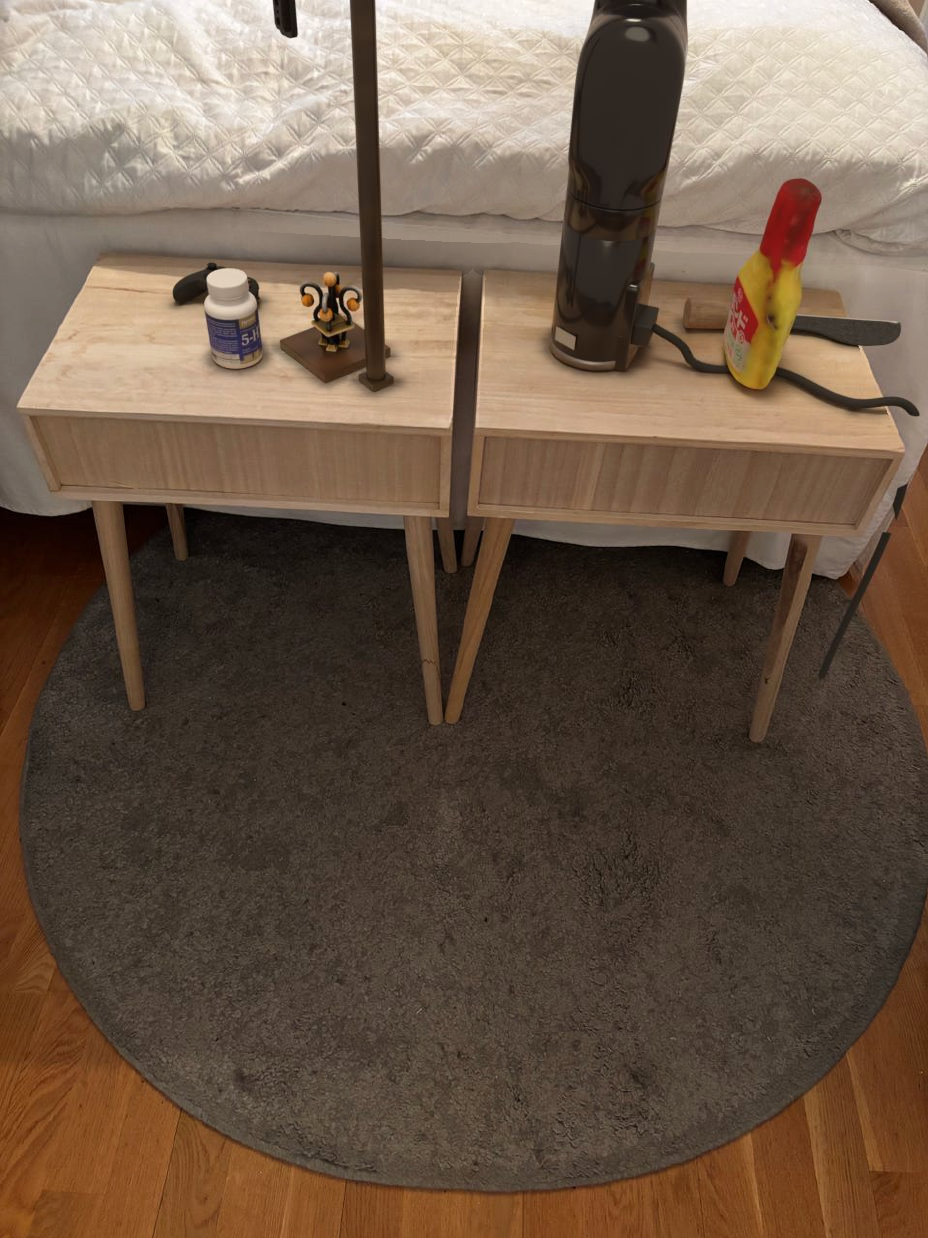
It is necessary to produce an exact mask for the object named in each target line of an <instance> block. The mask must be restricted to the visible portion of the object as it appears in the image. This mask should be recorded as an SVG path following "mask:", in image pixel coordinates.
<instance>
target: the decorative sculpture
mask: <svg viewBox="0 0 928 1238" xmlns="http://www.w3.org/2000/svg"><path fill="white" fill-rule="evenodd" d="M340 280H341V278H340V273H338V271H335V272H331V271H327V272H325V273H324V274H323V276H322V281H323V284H324V285H325V286H326V287H327V292H324V291H323V290H322V288H321V286H320V285H319V284H317V283H316V282H313V281H309V280H308V281H304V282H302V283H301V284H300V286H299V293H300V296H301V297H300V301H301V304H302V306H303V307H306V308H311V307H312V306H314V304H315V297H314V295H313V294H312V293H309V292H305V289H306V288H307V287H309V288H312V289H314V290H315V291H316V292H317V295H318V305H316V307H314V308H315V309H313V312H312V316H313V317H312V318H313V319H312V320H311V322H310V324H311V325H312V327H316V328H317V329H318V330H319V331H321V335H322V337H321V338H320V341H319V345H326V346H327V348H326V351H332V352H336V350H337V348H338V346H339V347H346V348H347V347H348V346H349V343H350V341H349V340H348V339H347V338H346V333H347V330H350V329H353V328H354V324H353V323H351V322H352V321H353V316H352V314H351V312H355V313H356V312H357V311H358V310H359V309H360V307H361V302H362V301H363V292H362V291H361V289H360V288H359V287H358V286H355V285H346V286H343V287H342V286H341V285H340V284H341V283H340V282H341V281H340ZM350 291H351V292H354V293H355V294H356V295H357V297H349V298H348V299H347V301H346V302H345V299H344V298H345V294H346V293H347V292H350ZM337 299H338V300H337ZM345 303H346V306H345ZM339 308H340V309H339ZM340 310H341V311H342V313H343V314H344V315H343V314H341V313H340ZM344 316H346V317H347V319H346V318H345V317H344ZM341 332H342V334H340V333H341ZM327 336H329V338H328V337H327Z"/></svg>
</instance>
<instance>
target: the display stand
mask: <svg viewBox="0 0 928 1238" xmlns="http://www.w3.org/2000/svg"><path fill="white" fill-rule="evenodd" d="M376 5H377V4H376V0H349V15H350V16H349V17H350V38H351V40H350V41H351V60H352V62H351V63H352V64H351V65H352V82H353V83H352V84H353V107H354V109H353V110H354V129H355V132H354V133H355V151H356V172H357V173H356V174H357V175H356V176H357V195H358V196H357V197H358V215H359V216H358V218H359V221H358V222H359V241H360V263H361V288H362V308H363V313H362V314H363V327H362V326H360V325H359V324H358V323H356V322H355V321H353V320H352V322H351V323H353V324H354V328H353V329H350V330H347V333H346V338H347V339H348V340H349V341H350V343H349V346H348V347H347V348H346V347H339V346H338V348H337V350H336V352H332V351H326V348H327V346H326V345H319V341H320V338H321V337H322V335H321V331H319V330H318V329H317V328H316V327H314V326H312V327H310V328H308V329H305V330H301V331H299V332H297V333H294V334H291V335H289V336H287V337H284V338H281V339H279V346H280V349H281V350H282V351H284V352H285V353H286V354H288V355H289V356H290V357H291V358H293V359H294V360H296V361H297V362H298V363H299V364H300V365H302V366H303V367H304V368H306V369H307V370H308V371H310V372H311V373H312V374H314V375H315V377H317V378H319V379H320V380H322V382H324V383H326V384H327V383H329V382H331V381H334V380H336V379H339V378H342V377H344V376H346V375H348V374H351V373H353V372H355V371H357V370H360V369H362V368H365V371H363V372H361V373H359V374H358V382H360V383H361V384H362V385H364V386H365V387H366V388H368V389H369V390H371V391H372V392H373V393H374V392H378V391H380V390H382V389H384V388H387V387H389V386H391V385H394V384H395V377H394V376H393V375H391V374H390V373H389V372H388V371H386V370H387V366H386V365H387V364H386V363H387V362H386V359H387V358H389V357H391V347H390V346H389V345H387V344H386V331H385V329H386V328H385V327H386V326H385V294H384V260H383V259H384V258H383V256H384V255H383V226H382V225H383V224H382V221H383V220H382V187H381V186H382V185H381V151H380V150H381V148H380V147H381V146H380V115H379V114H380V113H379V82H378V81H379V79H378V45H377V41H378V39H377V38H378V37H377V6H376ZM343 316H344V317H345V318H346V319H347V316H346V315H343ZM340 334H342V332H341V333H340ZM327 337H328V338H329V336H327Z"/></svg>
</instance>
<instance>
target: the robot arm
mask: <svg viewBox="0 0 928 1238" xmlns="http://www.w3.org/2000/svg"><path fill="white" fill-rule="evenodd" d="M272 10H273V20H274V25H275V27H276V30H279V32H280V34H281V35H282V36H283V37H285V38H287V39H290V40H291V39H294V38H298V37H299V31H298V17H297V4H296V0H272ZM688 50H689V31H688V0H594V2H593V9H592V14H591V18H590V23H589V27H588V29H587V33H586V35H585V38H584V41H583V43H582V47H581V49H580V52H579V56H578V60H577V66H576V73H575V79H574V80H575V81H574V87H573V88H574V89H573V99H572V111H571V120H570V132H569V144H568V152H567V153H568V154H567V165H568V171H567V172H568V173H567V183H566V192H565V200H564V209H563V210H564V211H563V220H562V229H561V240H560V249H559V255H558V256H559V257H558V265H557V276H556V284H555V285H556V286H555V293H554V302H553V303H554V304H553V315H552V323H551V328H550V329H551V330H550V333H549V343H548V344H549V350H550V351H551V353H552V354H553V355H554V356H555V357H556V358H557V359H558V360H559V361H561V362H563V363H564V364H566V365H569V366H571V367H574V368H576V369H580V370H585V371H586V370H587V371H598V372H599V371H610V370H615V371H620V372H621V371H622V372H625V371H627V369H628V367H629V366H630V365H631V362H632V360H634V358H635V356H636V354H637V352H638V351H639V349H640V347H643V348H648V347H649V345H650V342H651V340H652V337H653V334H655V335H656V336H658V337H660V338H662V339H663V340H665V341H667V342H668V343H670V344H672V346H674V347H675V348H677V350H678V351H679V352H680V353H681V355H682V357H683V359H684V361H685V363H686V364H688V366H689V367H691V368H693V369H695V370H697V371H699V372H703V373H707V374H717V375H719V374H721V375H730V374H731V375H732V373H731V371H730V370H729V367H728V364H726V365H725V364H724V365H722V364H721V365H719V364H711V363H706V362H704V361H701V360H699V359H697V358H696V357H695V356H694V355H693V353H692V350H691V348H690V347H689V345H688V344H687V343H686V342H685V341H684V340H683V339H682V338H681V337H679V336H678V335H676V334H675V333H673V332H672V331H669V330H667V329H665V328H664V327H662V326H660V325H659V324H657V322H658V318H659V317H658V316H659V311H660V307H658V306H654V305H653V306H652V305H649V302H650V297H651V291H652V285H653V278H654V275H655V274H654V273H655V270H656V269H655V267H656V264H655V262H653V261H652V257H653V253H654V246H655V242H656V241H655V240H656V234H657V228H658V223H659V217H660V211H661V206H662V202H663V201H662V200H663V195H664V191H665V186H666V180H667V176H668V172H669V166H670V160H671V153H672V148H673V143H674V136H675V131H676V128H677V127H676V126H677V121H678V116H679V111H680V110H679V109H680V105H681V99H682V94H683V88H684V82H685V75H686V66H687V60H688V52H689V51H688ZM773 377H778V378H781V379H784V380H786V381H789V382H791V383H794V384H796V385H798V386H800V387H802V388H804V389H805V390H807V391H809V392H811V393H812V394H814V395H816V396H818V397H821V398H822V399H824V400H827V401H829V402H831V403H834V404H837V405H840V406H843V407H846V408H852V409H861V410H862V409H876V408H882V407H899V408H901V409H902V410H904V411H905V412H906V413H907V414H908V415H909V416H911V417H917V418H918V417H920V416H921V414H920V411H919V409H918V408H917V407H916V405H915V404H914V403H913V402H912V401H910V400H909V399H906V398H904V397H900V396H881V397H874V398H855V397H850V396H847V395H843V394H840V393H837V392H835V391H832V390H830V389H828V388H826V387H824V386H822V385H820V384H818V383H816V382H815V381H813V380H811V379H809V378H807V377H805V376H803V375H802V374H799V373H797V372H794V371H792V370H789V369H786V368H784V367H779V366H777V368H776V371H775V374H774V375H773ZM908 486H909V483H906V484H903V485H901V486H899V487H897V489H896V493H895V495H894V498H893V502H892V509H893V514H894V518H895V521H898V517H899V514H900V512H901V508H902V506H903V503H904V500H905V498H906V497H905V496H906V493H907V490H908ZM891 536H892V532H886V531H882V533H881V535H880V537H879V540H878V542H877V544H876V547H875V549H874V552H873V554H872V556H871V558H870V561H869V562H868V564H867V567H866V568H865V569H866V570H865V571H864V572H863V575H862V578H861V580H860V582H859V584H858V586H857V588H856V590H855V592H854V595H853V596H852V599H851V601H850V602H849V605H848V607H847V609H846V611H845V613H844V615H843V617H842V619H841V622H840V624H839V626H838V628H837V630H836V633H835V635H834V637H833V638H832V641H831V644H830V645H829V648H828V650H827V653H826V655H825V657H824V659H823V662H822V664H821V667H820V669H819V671H818V674H817V678H819V679H821V680H824V679H825V678H826V677H827V674H828V672H829V669H830V667H831V665H832V662H833V660H834V658H835V655H836V654H837V651H838V649H839V647H840V645H841V642H842V640H843V639H844V636H845V634H846V632H847V630H848V627H849V625H850V623H852V622H851V621H852V619H853V617H854V616H855V613H856V611H857V609H858V607H859V605H860V603H861V601H862V599H863V597H864V595H865V593H866V591H867V589H868V586H869V585H870V583H871V581H872V579H873V576H874V574H875V572H876V570H877V567H878V566H879V563H880V562H881V559H882V556H883V555H884V552H885V550H886V548H887V545H888V543H889V541H890V538H891Z"/></svg>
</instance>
